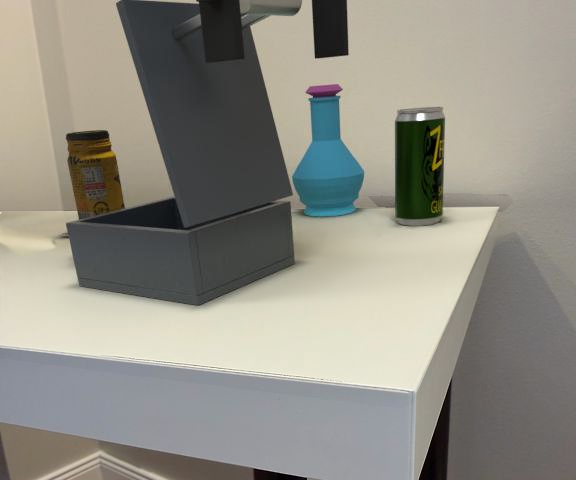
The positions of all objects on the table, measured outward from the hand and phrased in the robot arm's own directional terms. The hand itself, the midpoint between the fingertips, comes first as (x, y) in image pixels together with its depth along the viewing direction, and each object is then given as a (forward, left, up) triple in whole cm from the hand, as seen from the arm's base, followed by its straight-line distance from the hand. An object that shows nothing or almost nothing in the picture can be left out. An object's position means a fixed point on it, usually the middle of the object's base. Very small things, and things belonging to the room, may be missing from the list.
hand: (283, 59), depth 47 cm
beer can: (-2, +28, -17) cm, 33 cm away
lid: (-7, 0, -3) cm, 8 cm away
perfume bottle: (-16, +30, -17) cm, 39 cm away
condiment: (-40, +12, -17) cm, 46 cm away
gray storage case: (-13, 0, -17) cm, 21 cm away
